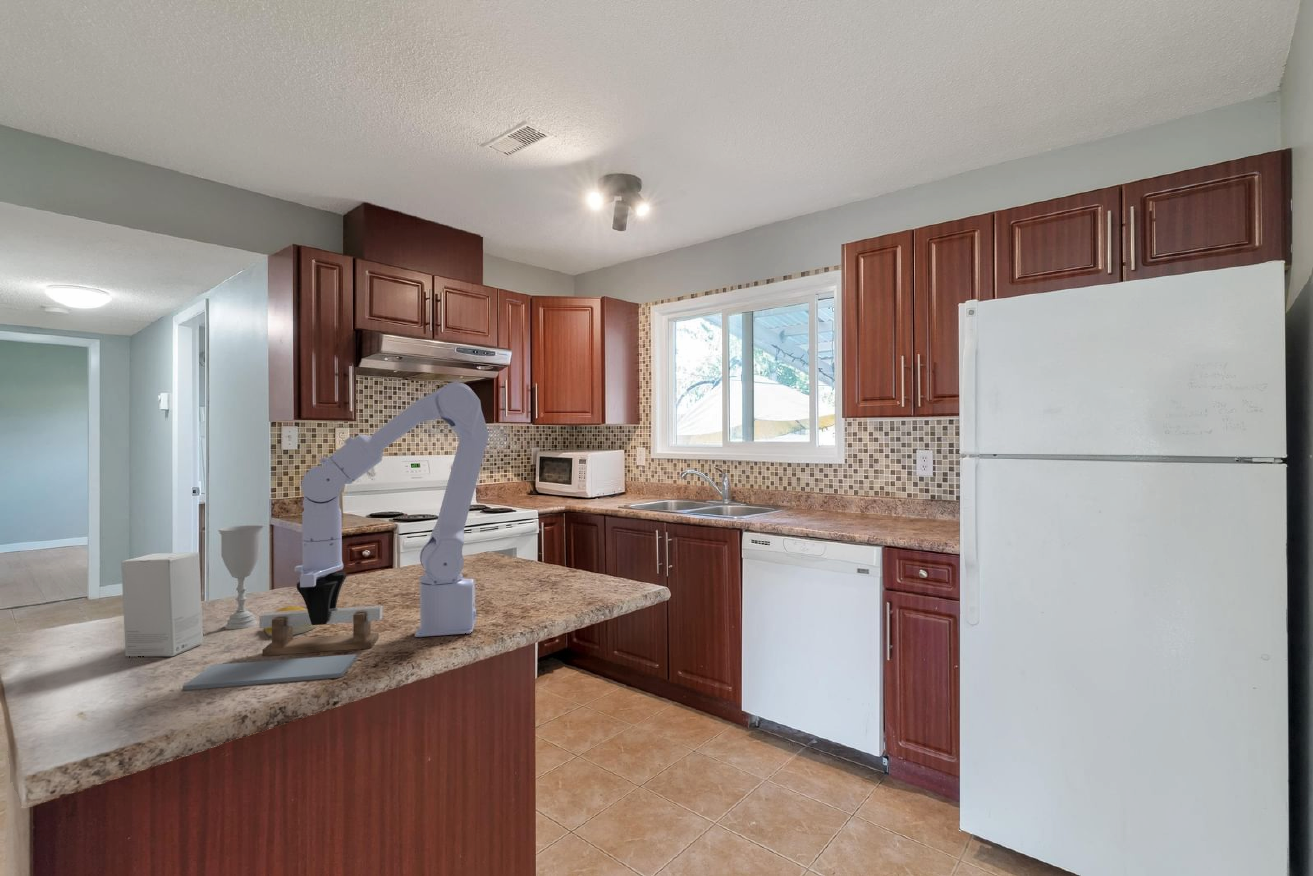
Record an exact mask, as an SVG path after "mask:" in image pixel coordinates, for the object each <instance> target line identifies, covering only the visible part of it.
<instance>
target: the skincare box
mask: <svg viewBox="0 0 1313 876" xmlns="http://www.w3.org/2000/svg"><path fill="white" fill-rule="evenodd" d="M120 564H121V580H122V581H121V583H122V585H121V586H122V603H123V604H122V605H123V606H122V607H123V608H122V609H123V623H124V624H123V625H124V629H123V630H124V646H125V647H124V648H125V652H124V653H125V657H126V656H127V657H126V658H130V657H131V658H132V657H134V658H135V657H137V658H138V656H141V657H142V656H144V657H174V656H178V655H179V654H182V653H184V652H187V651H189V650H191V649H192V650H193V649H194V648H196V647H198V646H200V645H202V644H203V643H204V635H203V633H204V632H203V630H204V629H203V611H202V607H203V606H202V592H201V591H202V590H201V589H202V588H201V587H202V585H201V570H200V569H201V565H200V552H198V551H197V552H172V553H171V552H166V553H165V552H163V553H162V552H161V553H159V552H158V553H157V552H155V553H150V554H146V555H143V556H139V557H134V558H130V559H125V560H123V561H120ZM129 656H130V657H129Z"/></svg>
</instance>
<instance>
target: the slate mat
mask: <svg viewBox="0 0 1313 876" xmlns="http://www.w3.org/2000/svg"><path fill="white" fill-rule="evenodd" d="M357 659H358V654H357V653H355V654H354V653H353V654H340V655H329V656H328V655H327V656H311V657H301V658H286V659H275V660H262V661H261V660H260V661H249V662H233V663H223V664H212V665H211V666H209V667H207V668H206V669H205V670H203V671H202V672H201V673H199V674H197V675H195V676H194V677H193V678H192V679H191V680H189V681H187V682H186V683H185V684H184V685H182V691H191V690H193V691H194V690H202V689H203V690H204V689H214V688H226V687H228V688H229V687H238V686H239V687H241V686H250V685H252V686H253V685H262V684H263V685H264V684H275V683H277V684H278V683H288V682H298V681H299V682H301V681H311V680H312V681H313V680H324V679H335V678H336V679H337V678H338V679H339V678H343V676H344V675H345V674H346V673H347V672H348V671H349V669H350V668H351V667H352V665H353V664H354V663H355V661H356V660H357Z"/></svg>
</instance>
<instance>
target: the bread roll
mask: <svg viewBox="0 0 1313 876" xmlns="http://www.w3.org/2000/svg"><path fill="white" fill-rule="evenodd" d="M296 610H307V608H305V607H302V606H294V605H293V606H292V605H291V606H284V607H281V608H278V609H277V610H275V611H274V612H279V611H296ZM316 627H317V625H302V626H293V636H295V635H300V634H304V633H306V632H309V631H312V630H313V629H315V628H316ZM263 630H264V631H265V634H266V635H268V637H272V628H263Z"/></svg>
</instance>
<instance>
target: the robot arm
mask: <svg viewBox="0 0 1313 876" xmlns="http://www.w3.org/2000/svg"><path fill="white" fill-rule="evenodd" d="M481 403H482V402H481V399H480V398H479V397H478V395H477V394H476V393H475V392H474V390H472V388H471V387H470V386H469V385H467V384H465V383H463V382H459V381H454V382H453V381H452V382H450V383H446V384H445V385H444V386H442V387H440V388H438V389H437V390H436V391H433V392H431V393H429V394H428V395H425V396H424V397H422V398H420V399H418V400H416V401H414V402H412V403H411V404H410V405H409V406H407V408H405V409H403V410H402V411H401V412H399V414H397V415H396V416H395V417H393V418H392V419H390V420H389V421H388V422H387V423H386V424H384V425H383V426H382V427H380V428H379V429H378V430H377V431H375V432H374V433H373V434H371V435H366V434H357V435H356V436H355V437H354V438H353V437H352V436H348V437H347V438H346V439H345V440H344V443H345V444H344V445H342V446H341V447H340V448H338V449H337V450H336V451H334V452H333V453H331V454H330V455H329V456H328V457H326V456H322V457H321V458H320V459H319V463H321V465H316V466H313V467H311V468H310V469H309V470H308V471H306V472H305V474H304V476H302V479H301V483H300V485H301V491H302V493H303V495H304V497H303V500H302V509H303V511H302V513H301V525H302V526H301V527H302V529H301V534H302V535H301V539H302V540H301V541H302V550H301V551H302V556H301V557H302V564H301V565H296V566H295V567H293V568H294V573H295V572H296V573H297V572H298V573H299V572H300V573H301V574H299V581H298V582H297V583H296V589H297V591H298V593H299V594H300V595H301V597H302V600H303V601H304V603H305V607H306V609H307V610H308V614H309V618H310V621H311V624H312V625H316V626H320V625H321V626H322V625H327V624H326V623H327V621H328V617H329V610H330V608H337V604H338V599H339V595H340V592H341V589H342V586H343V584H344V582H345V580H346V578H347V575H348V573H347V572H344V571H343V572H338V571H341V570H343V568H344V563H343V550H342V549H343V541H342V538H343V537H342V536H343V533H342V526H343V525H342V524H343V523H342V519H343V518H342V509H341V508H340V494H341V492H342V489H343V486H344V485H351V484H353V483H354V482H355V481H357V480H358V479H359V478H360V477H362V476H364V475H365V474H366V473H368V471H370V470H371V469H372V468H373V467H376V466H377V465H378V464H379V463H381V462H382V460H383V453H384V449H386V448H387V447H388V446H390V445H392V444H393V443H394V442H396V441H397V440H398V439H400V438H401V437H403V436H404V435H405V434H407V433H409V432H410V431H412V430H413V429H414V428H415V427H417V426H418V425H419V424H421V423H424V422H429V421H434V420H438V419H441V420H443V421H444V422H445V423H446V424H447V425H449V426H450V428H451V429H452V430H453V432H454V434H455V435H456V437H457V438H458V444H457V447H456V451H455V454H454V458H453V462H452V465H451V470H450V471H449V477H448V481H447V484H446V488H445V491H444V495H443V498H442V502H441V504H440V505H441V506H440V509H439V513H438V515H437V520H436V524H435V526H433V529H432V531H431V535H430V537H429V540H428V541H427V542H426V543H425V545H424V546H422V548H421V550H420V554H419V560H420V565H421V566H422V568H423V569H424V570H425V571H424V573H423V575H422V576H420V579H419V609H420V610H419V611H420V612H419V618H420V619H419V621H420V623H419V627H418V628H417V630H416V631H415V633H414V637H415V638H423V637H436V636H450V635H462V634H463V635H464V634H465V633H466V634H471V632H472V633H473V630H474V627H475V624H476V620H477V609H476V587H475V585H476V583H475V582H476V581H475V579H474V578H464V577H463V574H462V571H463V568H464V564H465V563H464V556H463V548H464V543H465V536H464V535H465V527H466V522H467V518H468V515H469V512H470V507H471V504H472V501H473V497H474V493H475V489H476V485H477V482H478V479H479V474H480V471H481V467H482V462H483V459H484V457H485V456H484V455H485V453H486V449H487V444H488V441H489V435H490V434H489V429H488V426H487V423H486V420H485V417H484V413H483V411H482V404H481ZM466 634H465V635H466Z"/></svg>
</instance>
